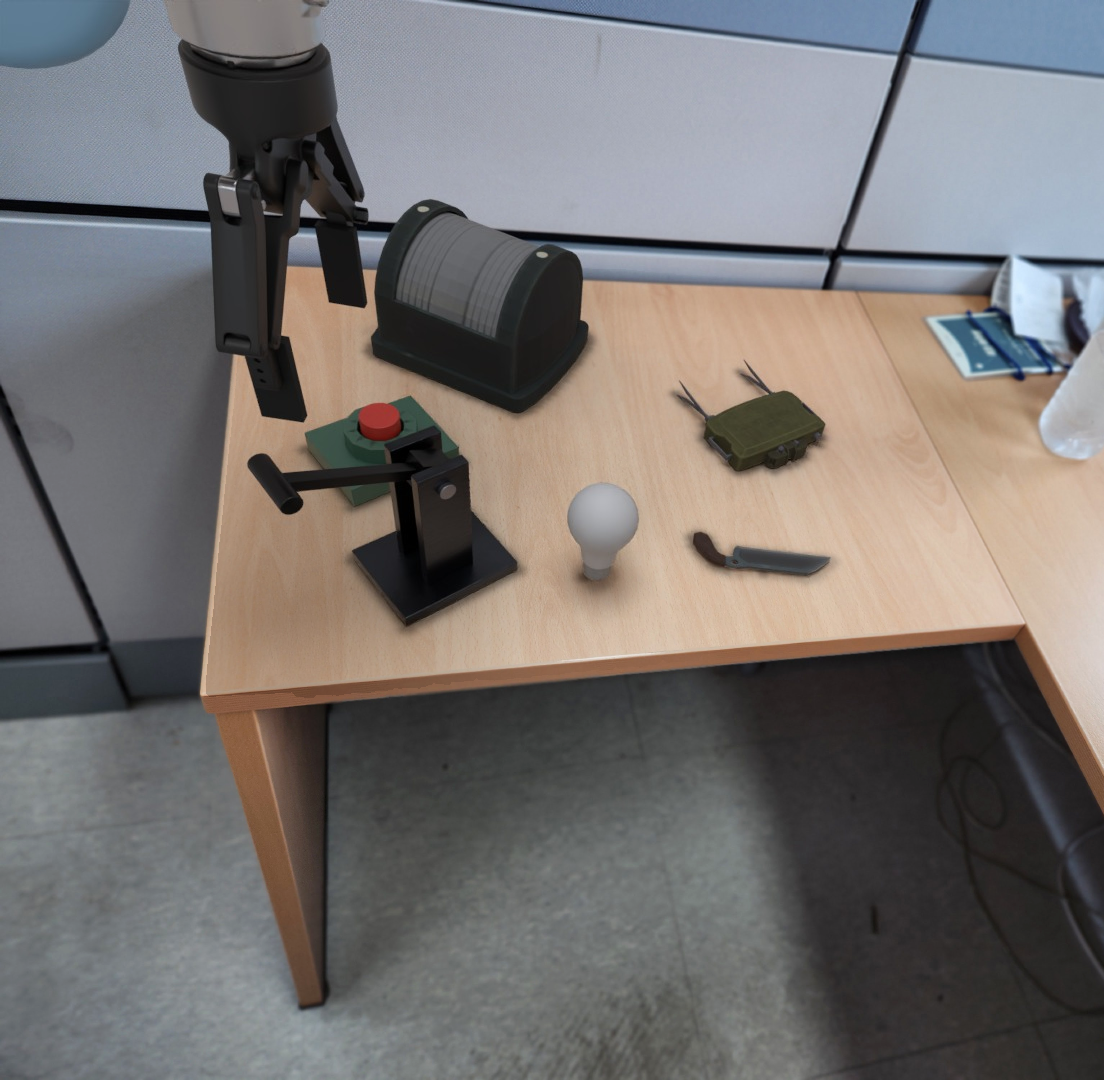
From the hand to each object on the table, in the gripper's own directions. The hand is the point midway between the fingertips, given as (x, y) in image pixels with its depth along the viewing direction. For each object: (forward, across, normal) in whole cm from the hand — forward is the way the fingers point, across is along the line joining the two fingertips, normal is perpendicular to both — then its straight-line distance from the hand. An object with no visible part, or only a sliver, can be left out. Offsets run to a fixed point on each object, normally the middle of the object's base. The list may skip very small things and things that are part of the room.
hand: (319, 355), depth 62 cm
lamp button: (+16, +10, 0) cm, 19 cm away
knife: (+20, +4, -38) cm, 43 cm away
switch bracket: (+20, -2, -8) cm, 21 cm away
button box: (+20, +10, 0) cm, 23 cm away
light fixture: (+20, +30, -5) cm, 37 cm away
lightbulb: (+20, -1, -22) cm, 30 cm away
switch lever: (+7, -6, -4) cm, 10 cm away
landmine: (+20, +24, -36) cm, 48 cm away
